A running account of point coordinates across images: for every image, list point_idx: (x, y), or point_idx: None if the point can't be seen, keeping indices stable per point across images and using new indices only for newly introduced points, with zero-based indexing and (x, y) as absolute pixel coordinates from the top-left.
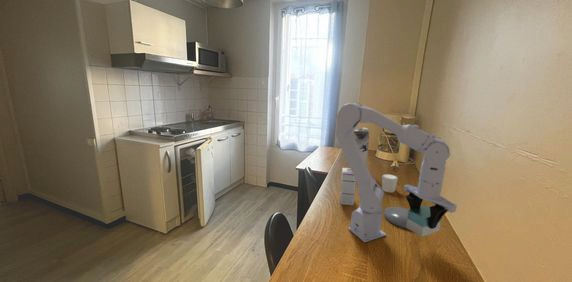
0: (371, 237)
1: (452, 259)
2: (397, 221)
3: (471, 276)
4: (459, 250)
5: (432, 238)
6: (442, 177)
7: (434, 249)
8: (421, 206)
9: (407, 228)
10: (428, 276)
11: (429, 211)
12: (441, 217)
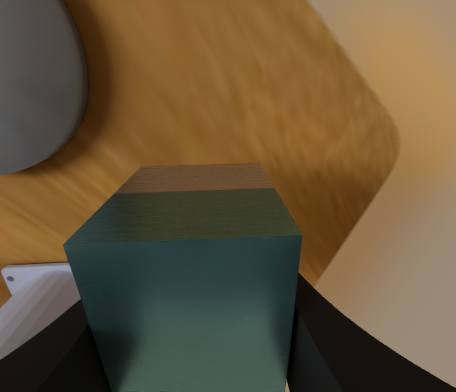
0: None
1: (316, 138)
2: (19, 160)
3: (392, 163)
4: (303, 31)
5: (183, 72)
6: None
7: (245, 149)
8: (89, 322)
9: (76, 129)
10: (313, 282)
11: (214, 334)
12: (343, 317)
